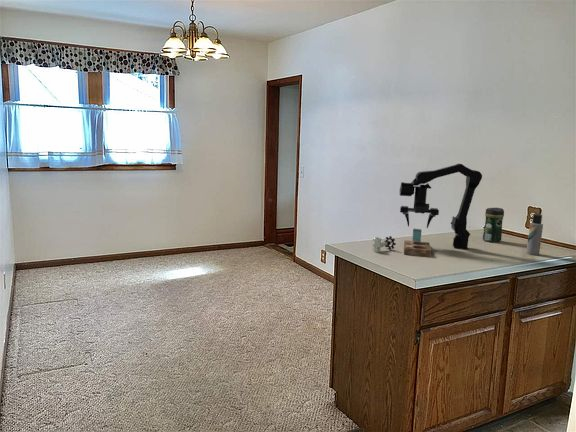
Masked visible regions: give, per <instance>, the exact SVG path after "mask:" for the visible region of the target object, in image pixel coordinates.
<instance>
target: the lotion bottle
mask: <svg viewBox="0 0 576 432" xmlns="http://www.w3.org/2000/svg"><path fill="white" fill-rule="evenodd" d="M542 221H543V214H541V213H534V214H533V215H532V222H530V224H529V229H528V230H529V231H528V237H527V246H526V254H527V253H528V254H527V255H530V256H539V255H540V251H541V246H542V245H541V244H542V235H543V228H544V224H542Z"/></svg>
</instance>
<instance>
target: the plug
mask: <svg viewBox="0 0 576 432" xmlns="http://www.w3.org/2000/svg"><path fill="white" fill-rule="evenodd" d="M421 240H422V229H421V228H413V229H412V239H411V241H417V242H422V241H421Z"/></svg>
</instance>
